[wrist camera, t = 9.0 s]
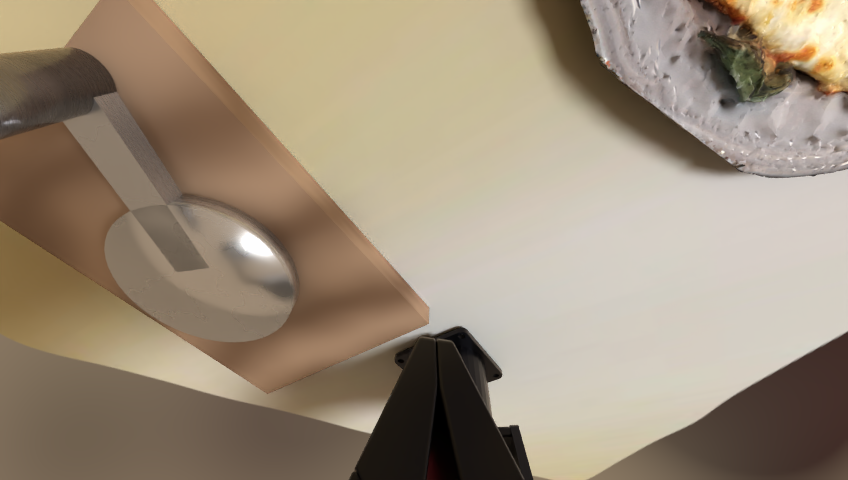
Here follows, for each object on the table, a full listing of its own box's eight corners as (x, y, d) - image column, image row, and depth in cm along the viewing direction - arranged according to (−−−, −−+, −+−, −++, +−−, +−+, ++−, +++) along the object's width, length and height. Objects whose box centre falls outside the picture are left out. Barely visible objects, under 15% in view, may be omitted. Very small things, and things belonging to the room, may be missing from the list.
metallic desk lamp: (322, 319, 22) (274, 451, 16) (186, 334, 23) (87, 461, 17) (174, 21, 13) (-97, 31, 6) (-36, 71, 14) (-444, 123, 8)
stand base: (429, 307, 24) (428, 326, 23) (274, 377, 29) (266, 396, 28) (140, -14, 14) (107, -17, 13) (-15, 179, 19) (-50, 192, 18)
